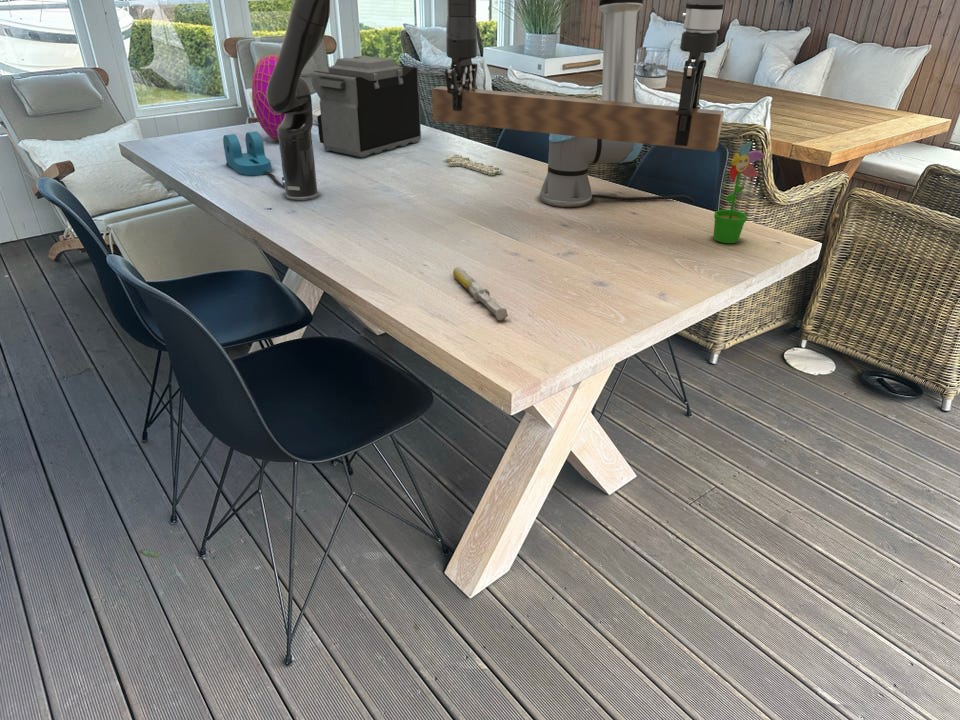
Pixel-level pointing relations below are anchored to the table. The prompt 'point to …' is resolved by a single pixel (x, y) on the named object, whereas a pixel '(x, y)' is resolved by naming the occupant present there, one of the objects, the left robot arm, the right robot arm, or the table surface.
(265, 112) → the decorative egg
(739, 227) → the potted flower
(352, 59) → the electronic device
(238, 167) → the camera mount
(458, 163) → the decorative sign
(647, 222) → the table surface
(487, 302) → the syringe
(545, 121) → the bar
